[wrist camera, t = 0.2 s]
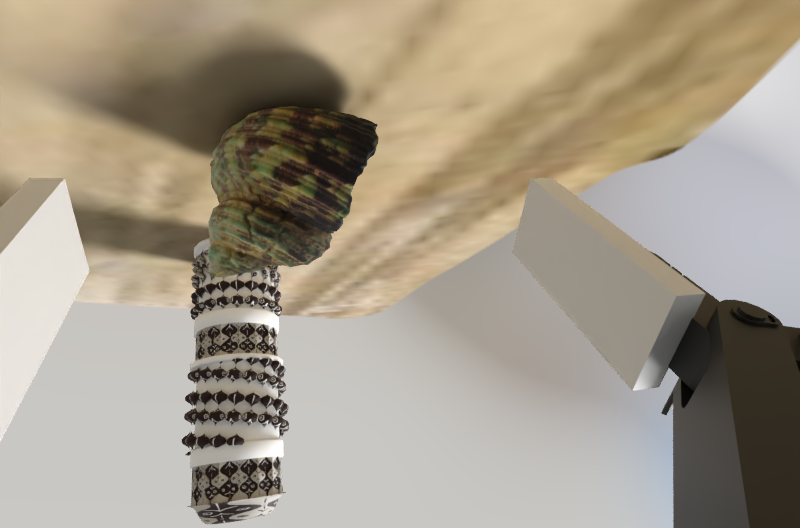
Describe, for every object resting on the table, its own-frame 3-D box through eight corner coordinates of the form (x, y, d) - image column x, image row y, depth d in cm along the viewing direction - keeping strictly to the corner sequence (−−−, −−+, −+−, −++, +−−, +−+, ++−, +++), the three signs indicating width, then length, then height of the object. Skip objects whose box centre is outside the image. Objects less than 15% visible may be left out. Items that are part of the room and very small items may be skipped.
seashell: (368, 169, 40) (382, 284, 37) (224, 177, 39) (223, 297, 35) (374, 73, 31) (393, 216, 27) (181, 79, 29) (174, 231, 25)
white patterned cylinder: (181, 264, 52) (169, 527, 43) (199, 226, 45) (190, 531, 36) (266, 272, 57) (272, 510, 48) (294, 238, 50) (308, 510, 41)
